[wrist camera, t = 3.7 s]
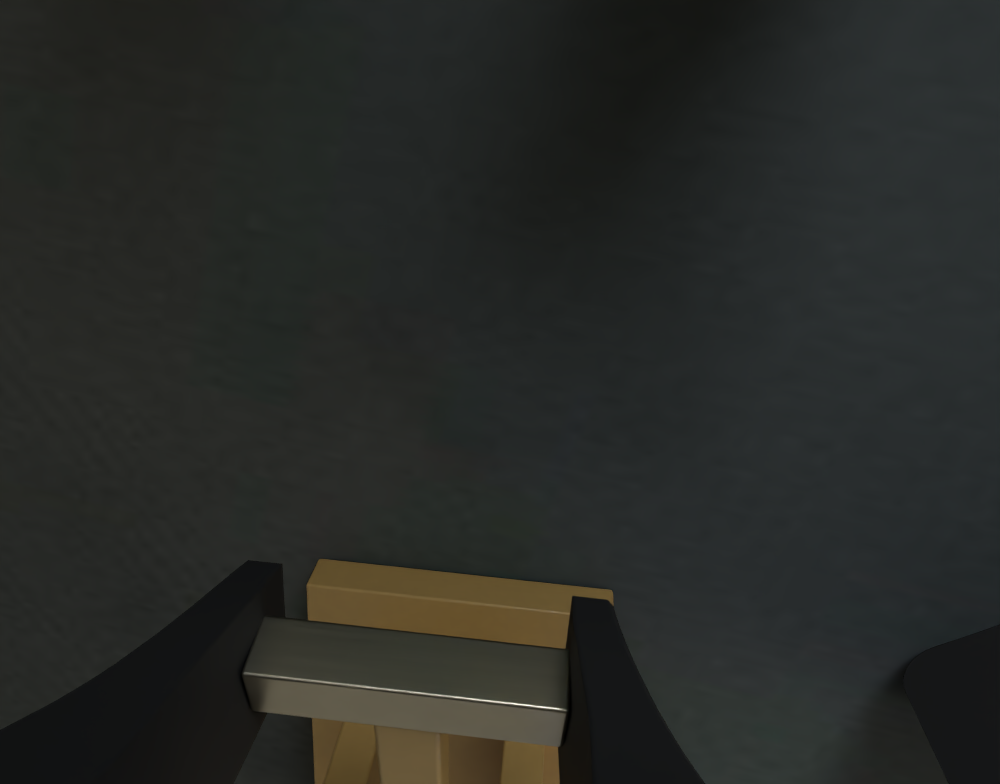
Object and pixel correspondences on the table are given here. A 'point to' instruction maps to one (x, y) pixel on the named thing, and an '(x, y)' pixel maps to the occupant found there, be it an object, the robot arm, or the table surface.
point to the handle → (410, 689)
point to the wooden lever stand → (451, 612)
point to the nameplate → (960, 705)
